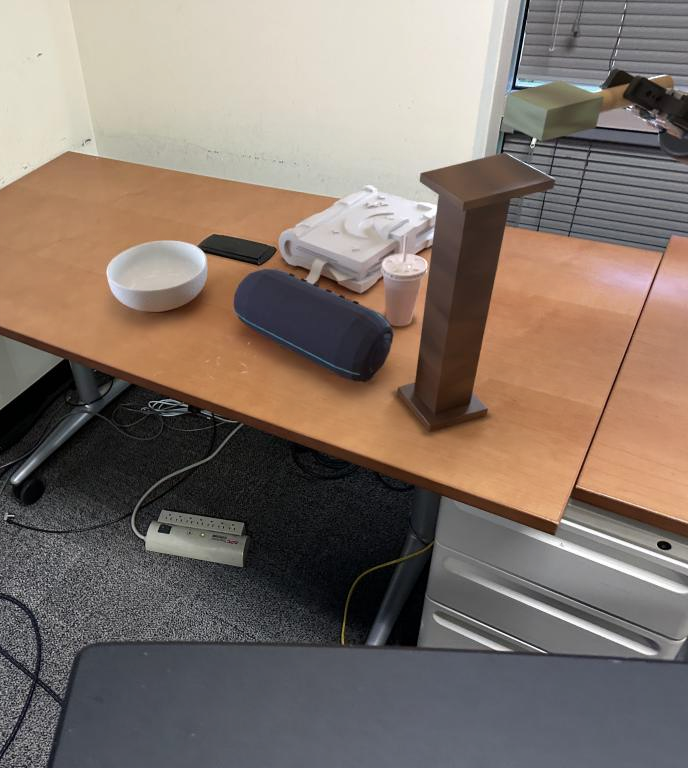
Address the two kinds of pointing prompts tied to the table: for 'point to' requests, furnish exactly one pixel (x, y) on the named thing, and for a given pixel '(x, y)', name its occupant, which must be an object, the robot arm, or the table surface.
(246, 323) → the portable speaker
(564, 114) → the green wooden mallet
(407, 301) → the smoothie
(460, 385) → the stand
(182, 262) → the cereal bowl
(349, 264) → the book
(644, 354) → the table surface
